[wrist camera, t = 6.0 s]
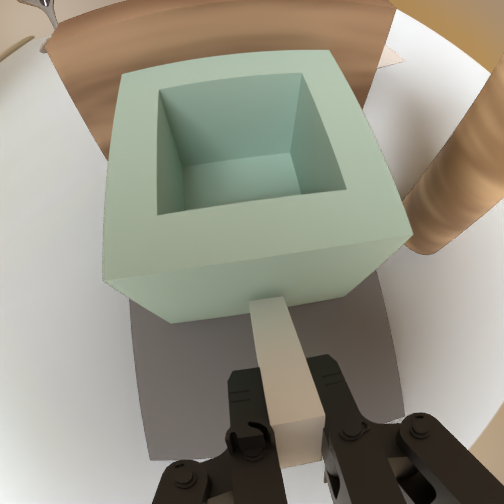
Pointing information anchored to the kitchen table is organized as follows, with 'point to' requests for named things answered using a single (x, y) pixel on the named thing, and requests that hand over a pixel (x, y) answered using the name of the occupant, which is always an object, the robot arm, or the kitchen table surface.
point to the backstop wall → (208, 42)
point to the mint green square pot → (244, 186)
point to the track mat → (244, 357)
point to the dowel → (461, 174)
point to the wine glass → (46, 3)
